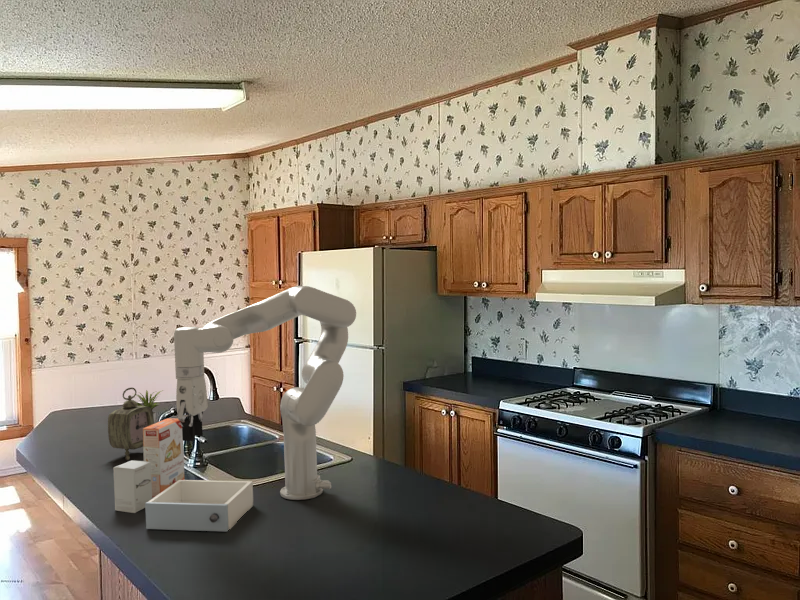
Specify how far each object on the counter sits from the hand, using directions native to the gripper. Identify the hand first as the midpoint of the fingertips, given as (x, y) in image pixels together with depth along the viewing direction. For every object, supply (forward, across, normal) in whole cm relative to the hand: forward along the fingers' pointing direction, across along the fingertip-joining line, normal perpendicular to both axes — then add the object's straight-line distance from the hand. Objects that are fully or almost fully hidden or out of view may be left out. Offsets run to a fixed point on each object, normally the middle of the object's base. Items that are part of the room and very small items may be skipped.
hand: (192, 437), depth 187 cm
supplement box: (+22, +3, +20) cm, 30 cm away
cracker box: (+22, +18, +18) cm, 33 cm away
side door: (+21, -12, -3) cm, 25 cm away
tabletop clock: (+22, +53, +49) cm, 75 cm away
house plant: (+22, +96, +65) cm, 118 cm away
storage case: (+21, -2, -3) cm, 22 cm away
